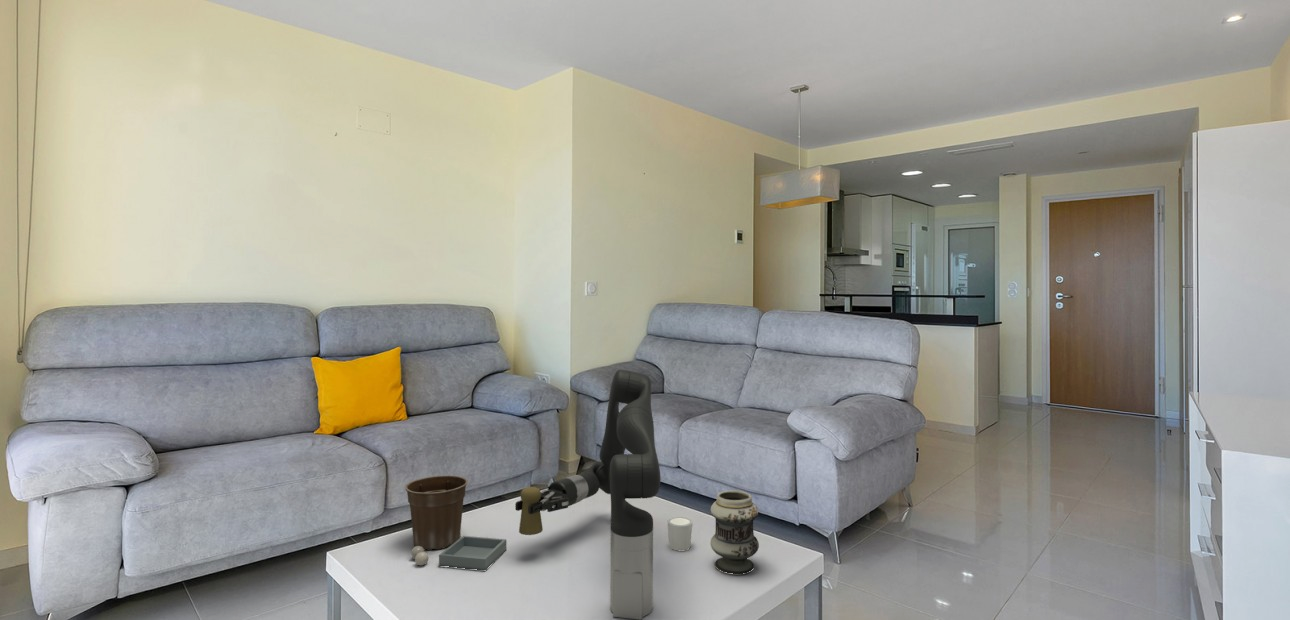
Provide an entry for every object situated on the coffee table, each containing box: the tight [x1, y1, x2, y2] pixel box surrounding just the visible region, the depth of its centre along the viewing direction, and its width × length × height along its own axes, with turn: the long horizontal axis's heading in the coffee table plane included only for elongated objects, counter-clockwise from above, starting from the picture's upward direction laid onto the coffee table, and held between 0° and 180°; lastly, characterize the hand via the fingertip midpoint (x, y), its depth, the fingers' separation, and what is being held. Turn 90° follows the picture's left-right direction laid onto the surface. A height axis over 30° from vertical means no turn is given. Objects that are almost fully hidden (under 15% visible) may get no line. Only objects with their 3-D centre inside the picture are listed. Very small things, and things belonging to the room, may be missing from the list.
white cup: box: [667, 516, 693, 552], centre depth 161 cm, size 7×7×7 cm
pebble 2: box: [414, 551, 430, 566], centre depth 150 cm, size 3×3×3 cm
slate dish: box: [438, 535, 507, 571], centre depth 153 cm, size 12×12×3 cm
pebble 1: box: [410, 546, 425, 560], centre depth 153 cm, size 3×3×3 cm
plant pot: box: [404, 475, 468, 551], centre depth 164 cm, size 16×16×16 cm
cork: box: [518, 486, 544, 536], centre depth 154 cm, size 6×6×11 cm
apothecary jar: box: [709, 490, 760, 575], centre depth 150 cm, size 12×12×18 cm
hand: (523, 508), depth 152 cm, fingers closed on cork, 4 cm apart
